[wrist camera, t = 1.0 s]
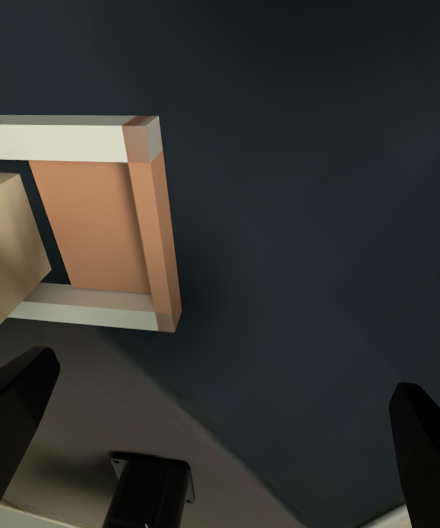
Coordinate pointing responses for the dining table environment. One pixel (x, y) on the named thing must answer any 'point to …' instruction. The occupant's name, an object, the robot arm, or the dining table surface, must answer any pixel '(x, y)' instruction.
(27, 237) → the maple block
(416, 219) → the dining table surface
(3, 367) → the robot arm
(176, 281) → the channel
